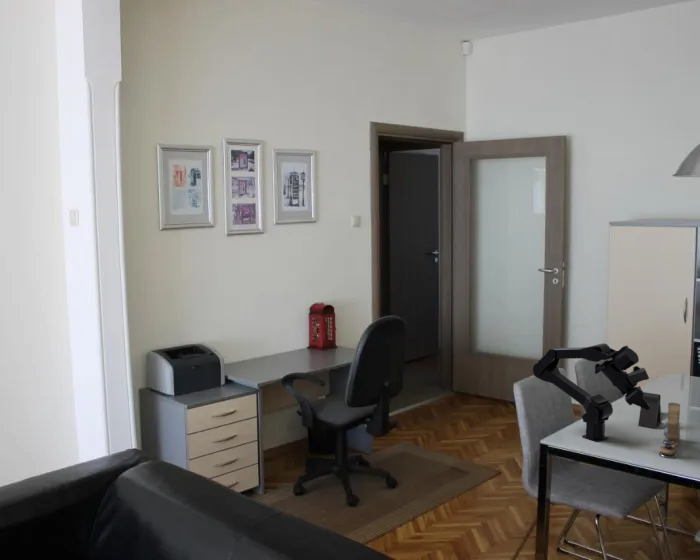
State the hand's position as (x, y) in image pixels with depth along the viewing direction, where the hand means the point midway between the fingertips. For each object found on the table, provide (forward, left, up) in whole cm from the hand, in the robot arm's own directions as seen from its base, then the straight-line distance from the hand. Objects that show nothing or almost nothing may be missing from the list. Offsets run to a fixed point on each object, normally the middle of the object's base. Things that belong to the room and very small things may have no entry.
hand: (648, 408), depth 250 cm
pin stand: (-4, -10, -13) cm, 17 cm away
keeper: (+10, -4, -13) cm, 17 cm away
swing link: (+2, -8, -12) cm, 14 cm away
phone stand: (+21, +13, -13) cm, 28 cm away
